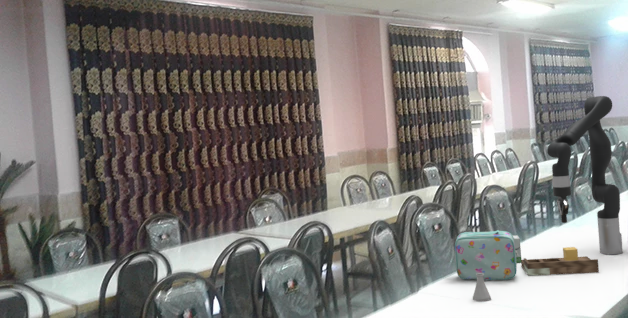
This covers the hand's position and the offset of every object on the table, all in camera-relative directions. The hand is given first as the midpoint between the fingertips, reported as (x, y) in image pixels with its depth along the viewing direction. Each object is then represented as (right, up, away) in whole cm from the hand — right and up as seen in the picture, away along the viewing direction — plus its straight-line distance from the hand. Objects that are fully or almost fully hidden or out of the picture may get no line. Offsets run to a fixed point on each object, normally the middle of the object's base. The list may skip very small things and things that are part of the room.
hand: (564, 222), depth 277 cm
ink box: (-19, -20, +12) cm, 30 cm away
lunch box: (-39, -23, -13) cm, 47 cm away
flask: (-50, -26, -41) cm, 70 cm away
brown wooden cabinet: (-7, -20, -10) cm, 23 cm away
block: (0, -16, -7) cm, 17 cm away
